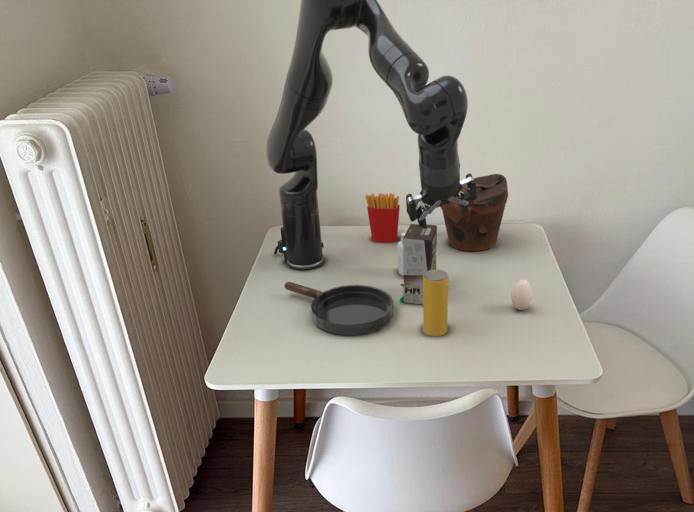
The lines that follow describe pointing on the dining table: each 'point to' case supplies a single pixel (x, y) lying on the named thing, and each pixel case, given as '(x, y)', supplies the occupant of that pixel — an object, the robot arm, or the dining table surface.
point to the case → (478, 215)
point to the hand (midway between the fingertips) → (442, 218)
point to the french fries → (383, 217)
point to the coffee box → (418, 259)
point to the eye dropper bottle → (401, 253)
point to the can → (435, 302)
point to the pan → (352, 309)
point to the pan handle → (302, 290)
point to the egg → (521, 294)
